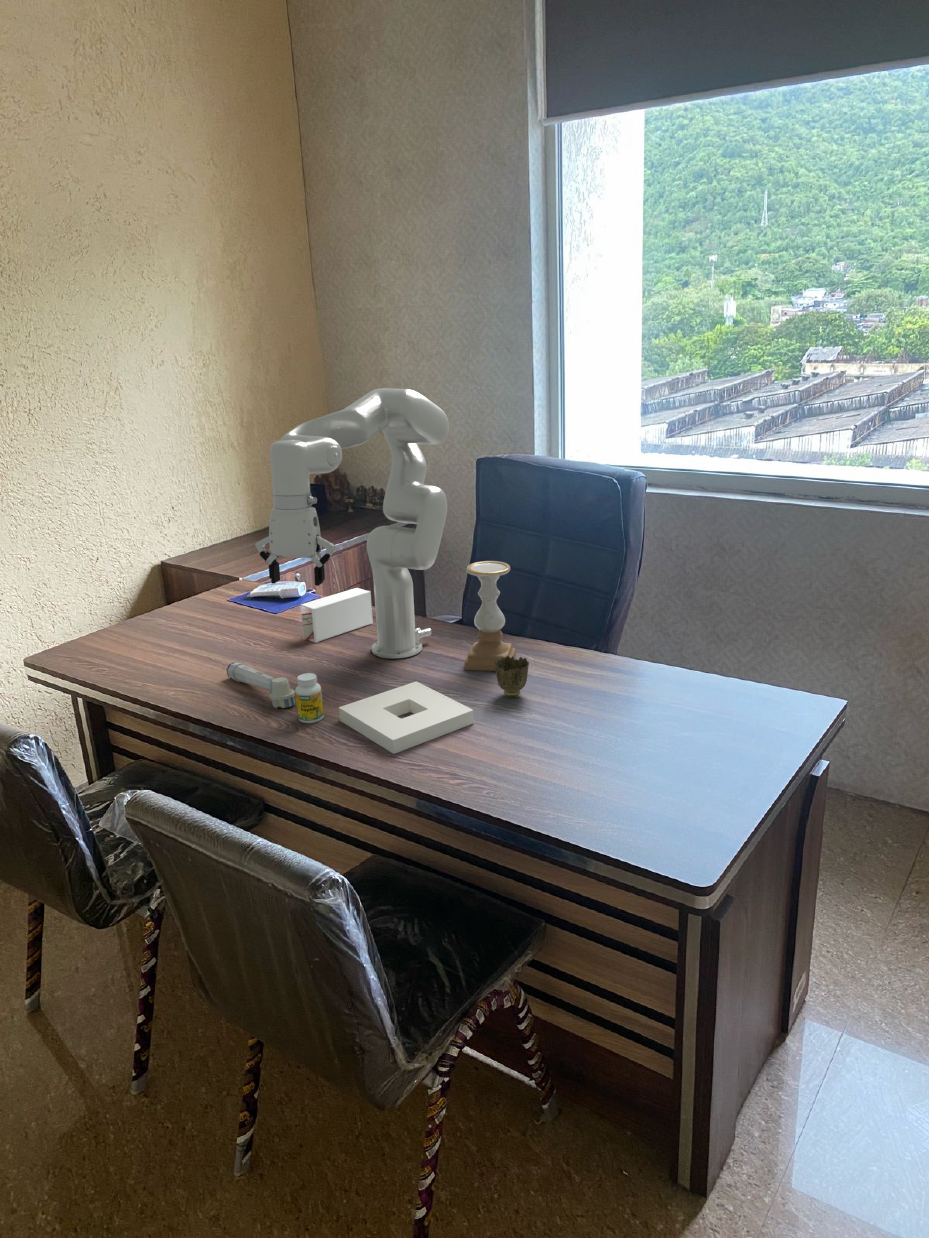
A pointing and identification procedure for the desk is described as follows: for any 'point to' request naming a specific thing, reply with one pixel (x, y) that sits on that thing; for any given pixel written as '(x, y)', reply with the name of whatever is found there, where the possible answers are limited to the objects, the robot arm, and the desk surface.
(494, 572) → the candle holder
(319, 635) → the white box
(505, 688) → the cup
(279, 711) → the desk surface
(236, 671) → the toothbrush head
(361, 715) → the hole board
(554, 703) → the desk surface
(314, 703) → the supplement bottle
